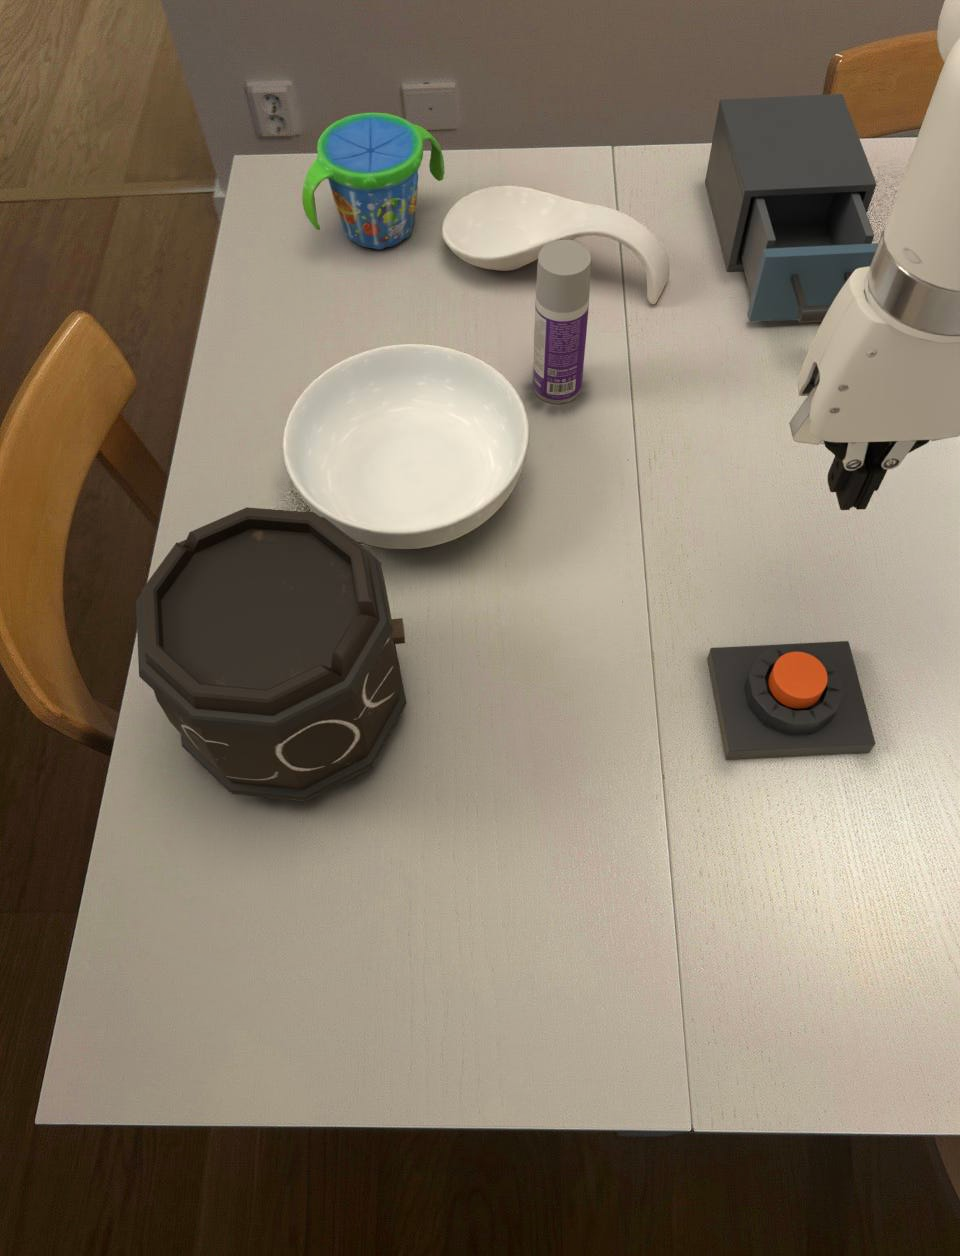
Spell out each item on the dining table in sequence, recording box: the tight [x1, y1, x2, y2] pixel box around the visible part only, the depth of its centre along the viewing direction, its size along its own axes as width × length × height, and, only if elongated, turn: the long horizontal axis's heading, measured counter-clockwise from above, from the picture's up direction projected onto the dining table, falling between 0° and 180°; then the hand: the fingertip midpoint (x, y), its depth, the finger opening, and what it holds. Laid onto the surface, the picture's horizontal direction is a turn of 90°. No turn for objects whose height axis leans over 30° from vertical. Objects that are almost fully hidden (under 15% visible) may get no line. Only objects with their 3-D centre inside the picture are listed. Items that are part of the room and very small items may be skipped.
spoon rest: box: [441, 185, 670, 305], centre depth 107 cm, size 24×12×7 cm, turn 68°
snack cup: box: [301, 112, 446, 251], centre depth 109 cm, size 16×10×10 cm
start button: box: [769, 652, 828, 709], centre depth 80 cm, size 4×4×2 cm
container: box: [532, 240, 592, 405], centre depth 95 cm, size 5×5×15 cm
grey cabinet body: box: [704, 93, 877, 272], centre depth 109 cm, size 15×13×10 cm
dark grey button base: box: [706, 640, 876, 761], centre depth 82 cm, size 11×9×4 cm
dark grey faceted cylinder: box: [135, 506, 407, 802], centre depth 77 cm, size 18×18×16 cm
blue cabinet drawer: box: [739, 192, 879, 323], centre depth 103 cm, size 19×11×8 cm, turn 3°
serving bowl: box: [282, 343, 530, 550], centre depth 92 cm, size 21×21×7 cm
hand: (847, 492), depth 72 cm, fingers closed
